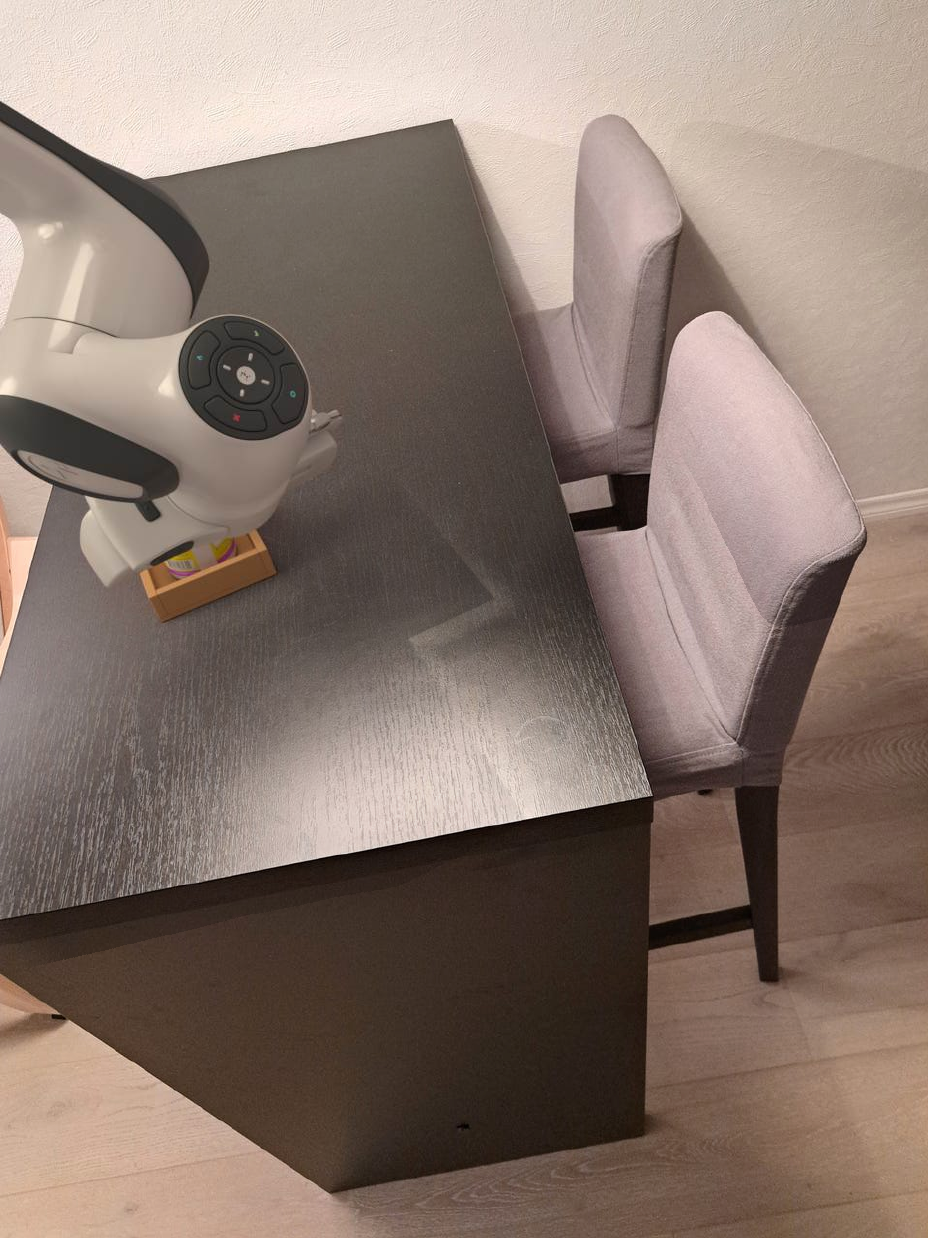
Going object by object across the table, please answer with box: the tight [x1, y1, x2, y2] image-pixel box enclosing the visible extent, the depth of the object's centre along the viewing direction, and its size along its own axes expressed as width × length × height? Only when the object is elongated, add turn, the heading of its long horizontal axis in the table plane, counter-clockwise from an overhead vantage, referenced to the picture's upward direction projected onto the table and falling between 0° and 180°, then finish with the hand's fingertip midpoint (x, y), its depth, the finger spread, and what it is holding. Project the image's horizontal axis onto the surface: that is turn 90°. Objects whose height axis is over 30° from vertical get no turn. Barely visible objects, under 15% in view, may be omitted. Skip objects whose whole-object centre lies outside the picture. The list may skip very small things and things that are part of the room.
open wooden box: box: [139, 529, 277, 623], centre depth 89 cm, size 11×11×3 cm
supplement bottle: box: [165, 537, 236, 580], centre depth 85 cm, size 7×7×13 cm
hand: (208, 524), depth 78 cm, fingers open, 8 cm apart
